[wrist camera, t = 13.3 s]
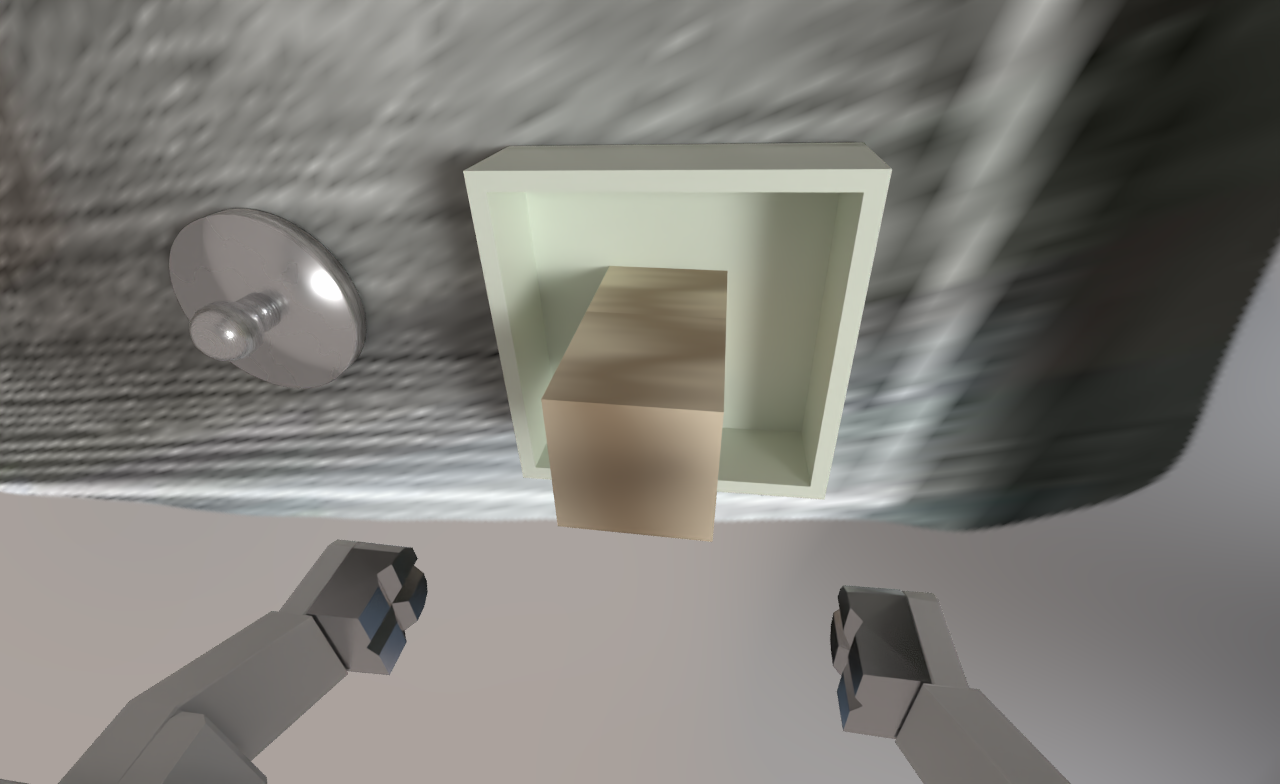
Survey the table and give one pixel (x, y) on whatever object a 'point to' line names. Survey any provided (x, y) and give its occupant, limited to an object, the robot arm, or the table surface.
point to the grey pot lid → (267, 298)
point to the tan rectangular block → (641, 405)
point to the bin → (692, 239)
